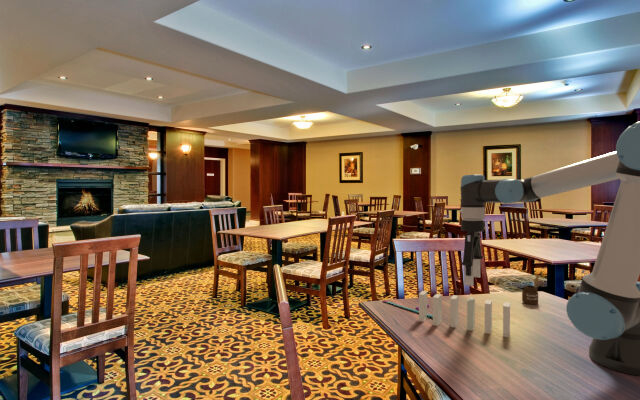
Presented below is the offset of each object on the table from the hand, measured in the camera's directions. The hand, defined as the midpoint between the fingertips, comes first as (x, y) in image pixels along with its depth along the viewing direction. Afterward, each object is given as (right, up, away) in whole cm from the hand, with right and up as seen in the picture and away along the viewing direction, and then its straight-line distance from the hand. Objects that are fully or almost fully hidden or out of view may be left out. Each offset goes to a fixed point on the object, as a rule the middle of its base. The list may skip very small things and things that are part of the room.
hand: (472, 281), depth 122 cm
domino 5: (+4, -17, -2) cm, 17 cm away
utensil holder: (+37, -16, +28) cm, 49 cm away
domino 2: (-11, -17, +5) cm, 20 cm away
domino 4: (0, -17, +1) cm, 17 cm away
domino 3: (-5, -17, +3) cm, 18 cm away
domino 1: (-15, -16, +9) cm, 24 cm away
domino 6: (+9, -17, -5) cm, 20 cm away
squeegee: (-13, -17, +22) cm, 31 cm away
